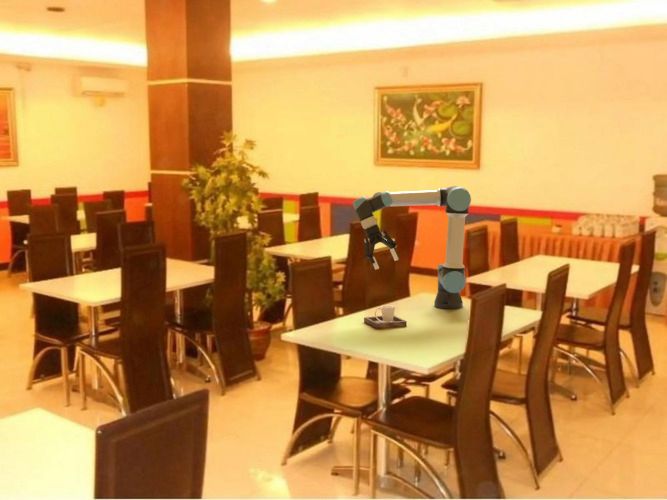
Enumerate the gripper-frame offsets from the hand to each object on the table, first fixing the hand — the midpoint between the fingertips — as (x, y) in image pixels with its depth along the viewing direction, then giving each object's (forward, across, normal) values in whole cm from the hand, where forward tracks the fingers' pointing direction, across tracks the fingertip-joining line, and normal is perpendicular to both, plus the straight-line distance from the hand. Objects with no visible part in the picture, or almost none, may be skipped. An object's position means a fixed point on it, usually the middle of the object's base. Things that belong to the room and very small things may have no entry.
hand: (387, 264), depth 362 cm
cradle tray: (+26, +21, +7) cm, 34 cm away
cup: (+25, +21, +7) cm, 34 cm away
